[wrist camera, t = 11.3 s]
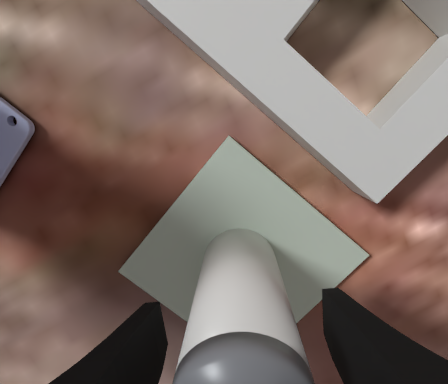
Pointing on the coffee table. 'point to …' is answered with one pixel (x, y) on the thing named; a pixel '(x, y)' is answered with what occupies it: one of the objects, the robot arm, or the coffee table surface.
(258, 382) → the cylinder
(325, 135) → the housing
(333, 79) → the coffee table surface
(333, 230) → the mat
